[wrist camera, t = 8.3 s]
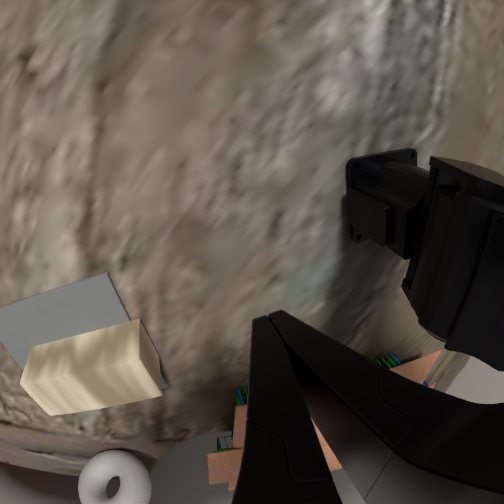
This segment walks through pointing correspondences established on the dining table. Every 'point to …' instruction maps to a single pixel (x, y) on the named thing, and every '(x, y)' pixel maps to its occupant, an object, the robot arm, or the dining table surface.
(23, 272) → the dining table surface
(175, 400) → the dining table surface
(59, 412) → the birch block
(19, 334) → the slate mat
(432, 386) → the house
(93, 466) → the donut
